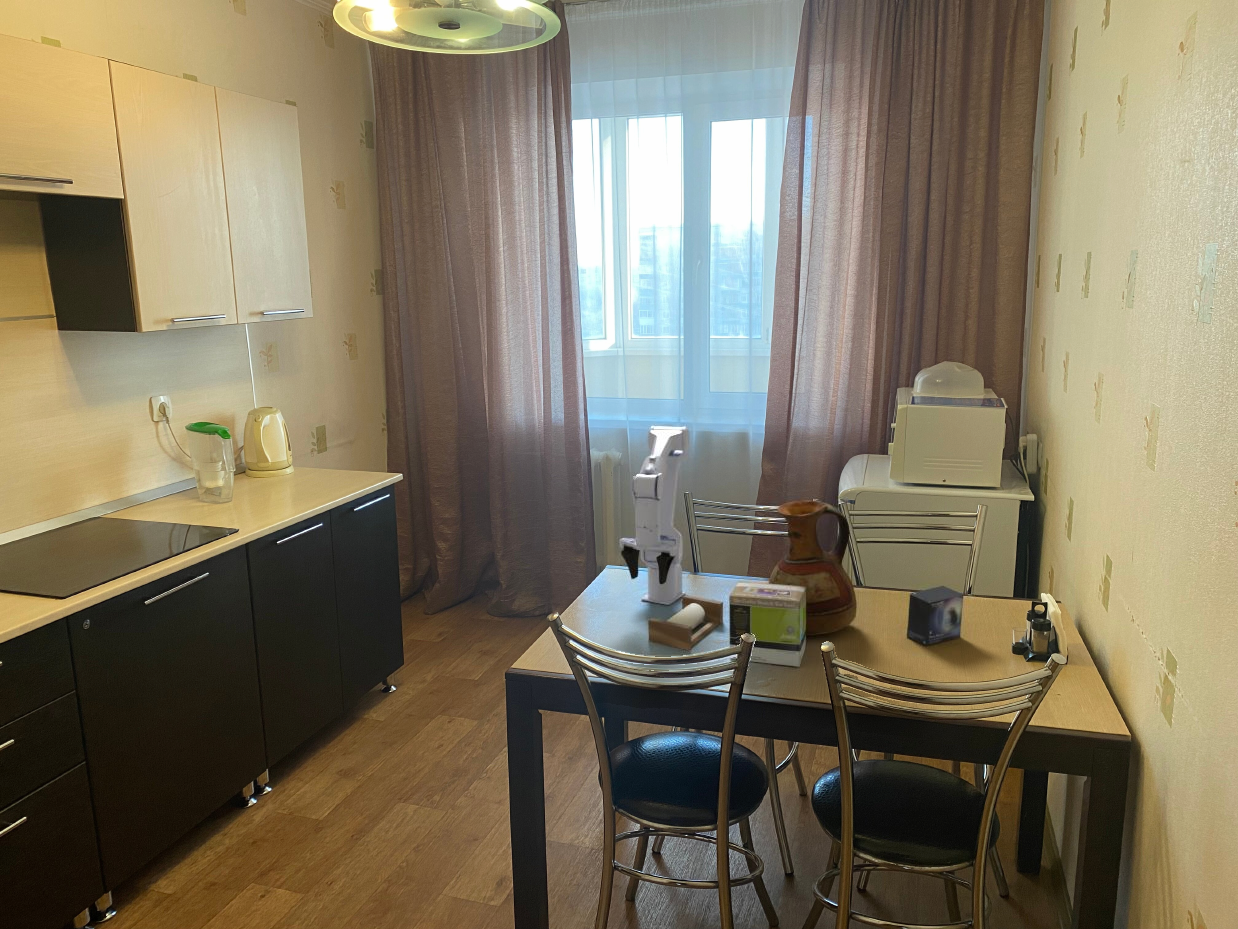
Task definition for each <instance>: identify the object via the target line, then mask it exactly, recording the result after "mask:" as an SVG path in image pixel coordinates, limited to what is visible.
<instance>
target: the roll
mask: <svg viewBox="0 0 1238 929" xmlns="http://www.w3.org/2000/svg"><path fill="white" fill-rule="evenodd" d="M704 619H705V612H704V610H703V608H702V607H701V606H700V605H698V604H696V603H692V604H690V605H688V606H687V607H685V608H684V609H683V610H682V609H681V610H680V611H678V612H677V613H675V614H674V615H673V616H671V617H670V618H669V619H667V620H666V621H668V622H673V623H678V624H683V625H688V626H691V631H692V630H694V629H695V628H696V627H698V626H699V625H700V624H702V623H703V622H705V621H704Z"/></svg>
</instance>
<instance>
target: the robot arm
mask: <svg viewBox="0 0 1238 929" xmlns="http://www.w3.org/2000/svg"><path fill="white" fill-rule="evenodd" d="M647 443H648V444H647V445H648V448H649V452H650V455H648V456H646V458H645V459H644V461H643V463H642V466H641V468H640V471H639V473H637V474H636V476H635V475H634V476H633V477H632V480H631V496H632V502H633V503H632V504H633V507H634V508H635V511H634V512H635V513H634V515H635V538H631V537H630V538H628V537H623V538H620V539H619V542H618V543H619V548H621V549H622V550H621V551H620V553H621V556H622V558H623V559H624V561H625V563H626V566H627V568H628V571H629V572H628V573H629V575H630V578H631V580H635V579H637V578H638V577H639V557H640V560H642V563H645V567H647V594H645V595H644V596H642V597H641V600H642V601H645V602H650V603H657V604H661V605H665V606H669V605H671V604H672V603H674V602H676V601H677V600H678V599H680V598H682V597H683V596H684V595H686V591H683V568H682V566H681V562H682V560H683V551H684V546H683V539H684V538H683V536H682V534H681V532H680V531H679V530H678V529H676V528H675V527H674V520H675V510H676V509H675V508H676V502H677V501H676V500H677V499H676V498H677V489H678V479H679V473H680V472H679V471H680V467H681V465H682V464H684V463H686V462H687V460H688V457H689V449H690V430H689V428H688V427H687V426H656V425H651V427H649V429H648V435H647Z"/></svg>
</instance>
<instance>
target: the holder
mask: <svg viewBox="0 0 1238 929" xmlns="http://www.w3.org/2000/svg"><path fill="white" fill-rule="evenodd" d="M692 603H696V604H698V605H700V606H701V607H702V608H703V610H704V612H705V619H704V621H703V622H707V624H705V625H704V626H703V627H702V628H700V629H699V630H698V631H696V632H695V633H694V634H693V635H692V630H691V626H688V625H683V624H678V623H673V622H668V621H667V620H663V619H658V618H653V617H651V618H650V619H648V620H647V621H648V622H647V623H648V625H647V626H648V628H647V629H648V630H647V631H648V642H650V643H655V644H660V645H664V646H669V647H672V648H678V649H682V650H687V651H690V649H691V648H692V647H693V646H694V645H695V644H696V643H698V642H699V641H701V639H702V638H703V637H705V636H707V634H709V633H710V632H711V631H712V630H714V629H715V628H716V627H717V626H718V625H722V623H724V602H723V601H720V600H716V599H715V600H714V599H709V598H703V597H698V596H693V595H688V594H684V595H683V596H681V610H683V609H684V608H685V607H687V606H688V605H690V604H692Z"/></svg>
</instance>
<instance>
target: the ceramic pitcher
mask: <svg viewBox="0 0 1238 929" xmlns="http://www.w3.org/2000/svg"><path fill="white" fill-rule="evenodd" d="M777 513H778V515H780V516H781V517H782V518H783V519H784V520H785V522H786V523H787V537H788V538H789V541H790V544H789V548H788V553H786V554H785V555H784V556H783V557H782V558H781V559H780V560H779V562H777V564H776V565H775V566H774V568H773V570H772V572H771V575H770V576H769V580H768V584H779V585H792V586H804V587H806V636H813V635H814V636H815V635H822V634H829V633H830V634H831V633H834V632H837V631H839V630H842V629H843V628H845V627H847V626H848V625H851V624H852V623H853V621H855V618H856V617H857V616H856V615H857V608H858V606H857V603H858V602H857V596H856V591H855V588H854V585H853V582H852V580H851V578H850V576H849V574H848V573H847V571H846V570H845V568H844V566H843V560H844V556H845V555H846V554H845V553H846V550H847V547H848V544H849V541H850V525H849V522H848V518H847V517H845V515H844V514H843V513H842V511H841V510H839V509H838V508H837V507H835V506H834V505H831V504H830V503H828V502H822V501H819V500H818V501H817V500H810V499H808V500H807V499H803V500H800V501H799V500H793V501H789V502H785V503H783V504H781V505H779V506H778V508H777ZM828 514H829V515H834V516H835V517H836V519H837V523H838V534H837V539H836V542H835V544H834V546H833V548H832V550H830V551H829V552H827V551H825V550H823V549H822V548H821V546H820V543H819V540H818V533H817V532H818V531H817V524H818V520H819V519H820V518H821V516H823V515H828Z"/></svg>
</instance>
